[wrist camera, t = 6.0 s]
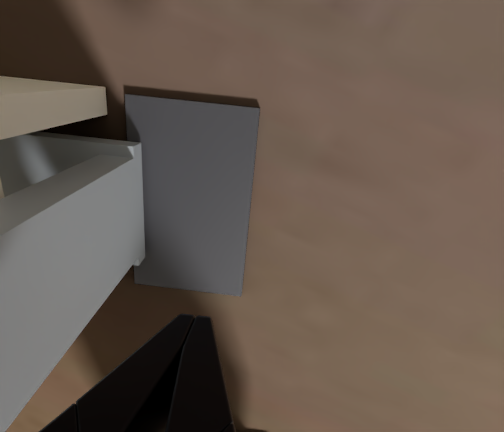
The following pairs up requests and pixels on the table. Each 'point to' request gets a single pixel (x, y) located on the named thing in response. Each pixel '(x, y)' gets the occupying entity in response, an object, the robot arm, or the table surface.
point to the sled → (60, 247)
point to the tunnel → (166, 175)
